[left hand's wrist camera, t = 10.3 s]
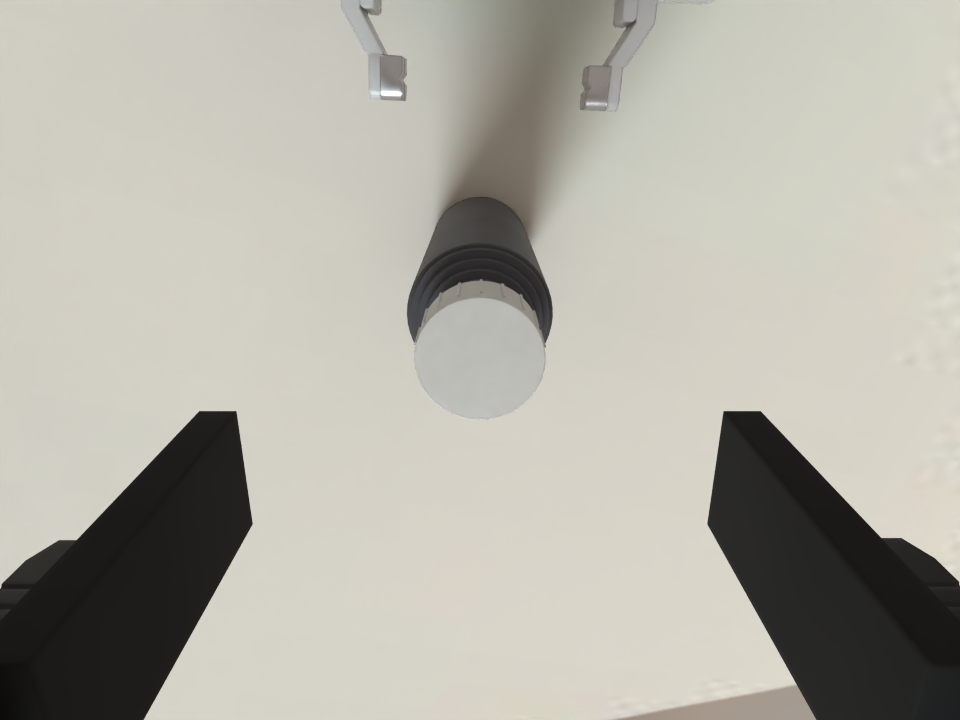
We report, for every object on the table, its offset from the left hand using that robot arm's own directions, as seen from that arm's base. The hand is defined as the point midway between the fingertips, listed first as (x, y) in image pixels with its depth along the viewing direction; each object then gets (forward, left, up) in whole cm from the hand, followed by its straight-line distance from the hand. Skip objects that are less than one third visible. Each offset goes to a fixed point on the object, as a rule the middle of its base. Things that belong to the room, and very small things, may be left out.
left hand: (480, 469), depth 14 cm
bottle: (0, 0, -25) cm, 25 cm away
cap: (0, 0, -7) cm, 7 cm away
